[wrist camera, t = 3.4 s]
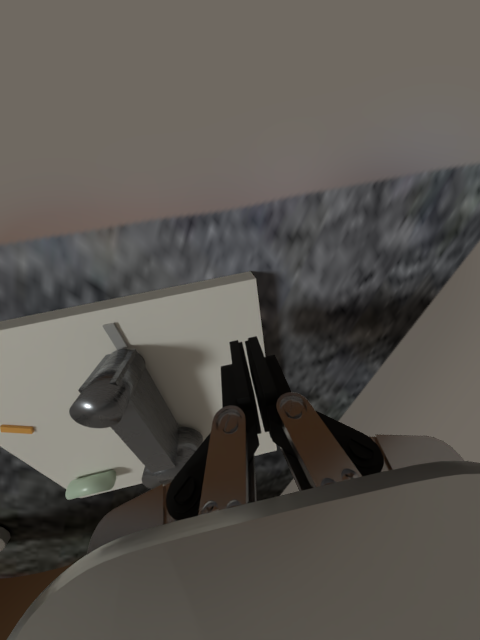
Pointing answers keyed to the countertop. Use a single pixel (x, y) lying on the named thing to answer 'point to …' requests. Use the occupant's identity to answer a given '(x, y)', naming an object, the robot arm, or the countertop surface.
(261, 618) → the robot arm
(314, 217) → the countertop surface
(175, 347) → the base
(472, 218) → the countertop surface
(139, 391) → the grey knobbed bar
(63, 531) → the countertop surface
